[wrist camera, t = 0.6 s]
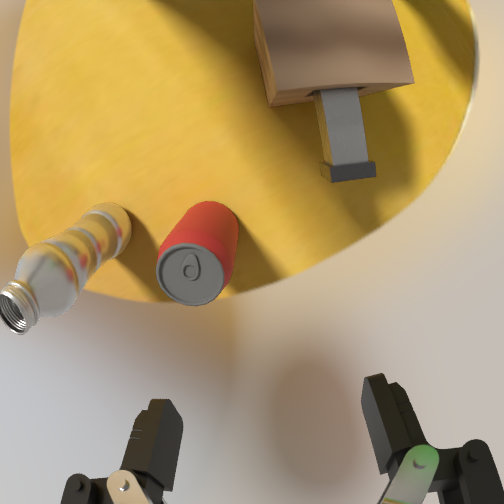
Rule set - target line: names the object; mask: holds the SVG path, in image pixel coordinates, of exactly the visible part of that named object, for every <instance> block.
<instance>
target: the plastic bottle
mask: <svg viewBox="0 0 504 504" xmlns="http://www.w3.org/2000/svg"><path fill="white" fill-rule="evenodd" d="M131 234H132V225H131V221H130V218H129V216H128V215H127V213H126V212H125V210H124V209H123V208H121V207H120V206H119V205H117V204H114V203H102V204H98V205H95V206H93V207H92V208H91V209H90V210H88V211H87V212H86V213H85V214H84V215H83V216H82V218H81V219H80V220H79V221H77V222H76V223H75V224H74V225H73V226H71V227H70V228H69V229H67V230H65V231H63V232H61V233H60V234H58V235H56V236H54V237H51V238H49V239H46V240H44V241H42V242H39V243H37V244H35V245H33V246H32V247H30V248H28V249H27V250H26V251H25V253H24V254H23V256H22V257H21V259H20V261H19V263H18V266H17V270H16V274H15V280H12V281H10V282H9V283H8V284H7V285H6V286H5V288H4V289H3V290H1V291H0V318H1V319H2V321H3V322H4V324H5V325H6V326H7V327H8V328H9V329H10V330H11V331H13V332H14V333H16V334H19V335H23V334H25V333H26V332H27V331H28V330H29V329H30V328H31V327H32V326H34V325H35V324H36V323H37V322H38V321H39V319H40V317H55V316H59V315H61V314H63V313H65V312H66V311H68V310H69V309H70V308H71V306H72V305H73V303H74V302H75V301H76V299H77V298H78V296H79V294H80V293H81V291H82V289H83V288H84V286H85V284H86V283H87V281H88V280H89V279H90V278H91V276H92V275H93V274H94V273H95V272H96V270H97V269H98V268H100V267H101V266H102V265H103V264H105V263H106V262H107V261H109V260H111V259H113V258H115V257H116V256H118V255H119V254H120V253H122V252H123V251H124V249H125V248H126V246H127V244H128V242H129V241H130V238H131Z"/></svg>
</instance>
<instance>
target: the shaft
mask: <svg viewBox="0 0 504 504" xmlns="http://www.w3.org/2000/svg"><path fill="white" fill-rule="evenodd" d="M312 94H313V99H314V104H315V109H316V114H317V119H318V125H319V130H320V136H321V142H322V148H323V155H324V161H325V162H319V163H320V170H321V176H323V177H324V178H326V179H327V180H329V181H330V182H331V183H334V182H341V181H348V180H355V179H362V178H370V177H376V167H375V162H374V161H370V160H368V153H367V145H366V138H365V131H364V125H363V118H362V113H361V107H360V101H359V96H358V91H357V87H346V88H332V89H320V90H313V91H312Z"/></svg>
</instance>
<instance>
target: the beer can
mask: <svg viewBox="0 0 504 504" xmlns="http://www.w3.org/2000/svg"><path fill="white" fill-rule="evenodd" d="M238 236H239V225H238V222H237V218H236V217H235V215H234V214H233V212H232V211H231V210H230V209H229V208H227V207H226V206H225V205H223V204H220V203H217V202H213V201H205V202H201V203H198V204H196V205H194V206H193V207H191V208H190V209H189V210H188V211H187V213H186V214H185V215H184V216H183V217H182V219H181V220H180V221H179V222H178V224H177V225H176V226H175V227H174V229H173V230H172V231H171V232H170V234H169V235H168V236H167V238H166V239H165V240H164V242H163V243H162V245H161V246H160V250H159V254H158V258H157V266H156V276H157V280H158V283H159V285H160V287H161V289H162V290H163V291H164V292H165V293H166V295H167V296H168V297H170V298H171V299H173V300H174V301H176V302H178V303H181V304H184V305H189V306H199V305H204V304H207V303H209V302H211V301H213V300H214V299H215V298H216V297H217V296H218V295H219V294H220V293H221V291H222V290H223V289H224V287H225V286H226V285H227V284H228V282H229V280H230V277H231V275H232V272H233V267H234V260H235V254H236V248H237V242H238Z"/></svg>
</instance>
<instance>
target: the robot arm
mask: <svg viewBox="0 0 504 504" xmlns="http://www.w3.org/2000/svg"><path fill="white" fill-rule="evenodd" d="M361 404H362V409H363V414H364V417H365V420H366V424H367V427H368V431H369V434H370V438H371V441H372V445H373V448H374V452H375V456H376V460H377V463H378V467H379V471H380V474H384V473H388V475H389V479H390V480H389V482H388V484H387V486H386V488H385V490H384V492H383V493H382V496H381V497H380V499H379V501H378V503H377V504H422V503H423V501H424V498H425V496H426V494H427V493H428V492H437V493H438V497H439V502H440V504H504V490H503V487H502V484H501V480H500V477H499V474H498V471H497V468H496V466H495V463H494V460H493V457H492V454H491V452H490V450H489V447H488V445H487V444H486V443H485V442H484V441H482V440H478V439H474V440H470V441H468V442H467V443H466V444H465V445H463V447H459V448H451V449H437V448H435V447H433V446H431V445H430V444H429V443H428V442H427V441H426V439H425V436H424V434H423V432H422V429H421V427H420V424H419V422H418V419H417V417H416V414H415V412H414V411H413V407H412V405H411V403H410V401H409V398H408V396H407V393H406V391H405V390H404V389H403V388H402V387H401V386H400V385H399V384H398V383H397V382H395V383H391V384H388V383H387V380H386V378H385V376H384V374H383V373H380V374H376V375H372V376H368V377H365V378H364V384H363V391H362V398H361ZM182 433H183V421H182V418H181V416H180V415H179V413H178V412H177V410H176V408H175V407H174V405H173V404H172V402H171V400H169V399H152V400H151V401H150V404H149V406H148V410H142V411H141V413H140V414H139V415H138V416H137V418H136V419H135V422H134V425H133V431H132V432H131V435H130V439H129V441H128V445H127V448H126V451H125V455H124V458H123V462H122V465H121V468H120V469H119V470H118V471H115V472H113V473H112V474H111V475H110V476H109V477H107V478H98V479H89V478H88V477H86V476H85V475H83V474H74V475H72V476H70V477H69V478H68V480H67V482H66V485H65V489H64V492H63V496H62V500H61V504H167V503H166V501H165V500H164V498H163V497H162V496H163V491H172V490H173V484H174V477H175V472H176V466H177V461H178V455H179V449H180V444H181V439H182Z"/></svg>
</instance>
